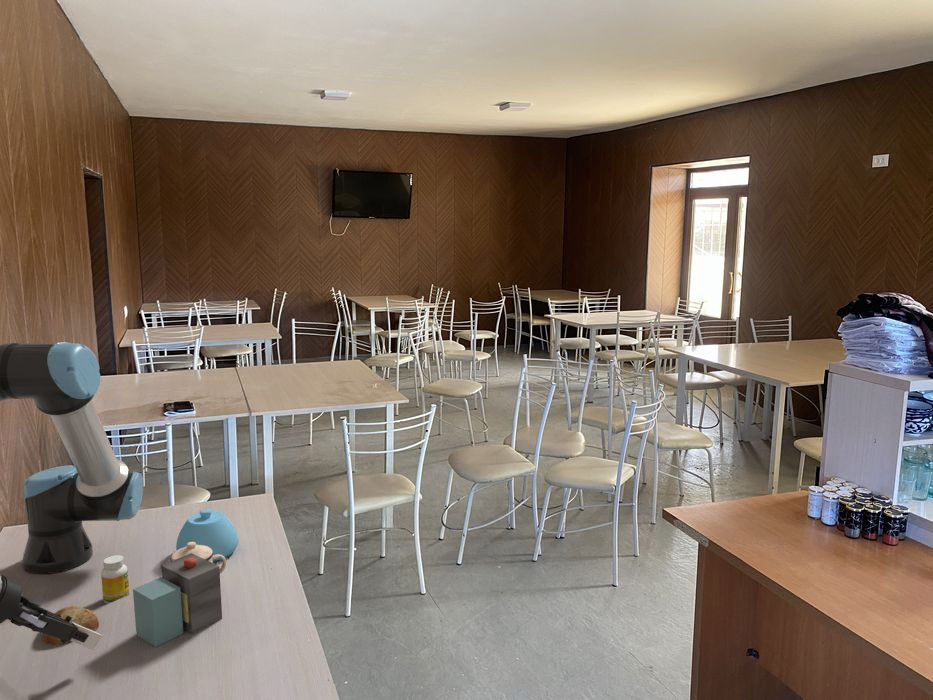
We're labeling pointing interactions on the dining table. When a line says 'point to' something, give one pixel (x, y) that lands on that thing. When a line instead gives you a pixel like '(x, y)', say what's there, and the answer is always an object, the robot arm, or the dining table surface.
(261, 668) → the dining table surface
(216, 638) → the dining table surface
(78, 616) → the bread roll
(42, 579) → the dining table surface
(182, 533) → the sugar bowl
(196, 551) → the teacup with lid
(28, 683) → the dining table surface
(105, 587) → the supplement bottle
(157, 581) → the teal rectangular block
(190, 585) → the switch base
